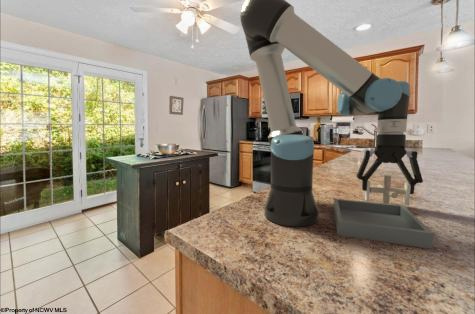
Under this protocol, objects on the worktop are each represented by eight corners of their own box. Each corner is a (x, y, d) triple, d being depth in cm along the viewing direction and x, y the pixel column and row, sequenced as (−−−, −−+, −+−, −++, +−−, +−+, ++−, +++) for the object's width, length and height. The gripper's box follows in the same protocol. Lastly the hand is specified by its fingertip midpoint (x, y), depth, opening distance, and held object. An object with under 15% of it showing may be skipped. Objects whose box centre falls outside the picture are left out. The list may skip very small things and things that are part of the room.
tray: (337, 234, 51) (337, 221, 51) (333, 209, 68) (334, 198, 68) (432, 249, 45) (433, 233, 45) (402, 216, 62) (403, 205, 61)
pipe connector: (411, 212, 65) (414, 179, 64) (375, 210, 67) (377, 178, 66) (394, 201, 74) (397, 173, 73) (363, 200, 76) (364, 172, 75)
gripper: (351, 133, 68) (348, 201, 71) (443, 133, 60) (435, 210, 63) (349, 133, 75) (346, 195, 78) (430, 133, 67) (424, 202, 70)
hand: (385, 201), depth 70 cm, fingers closed on pipe connector, 10 cm apart
